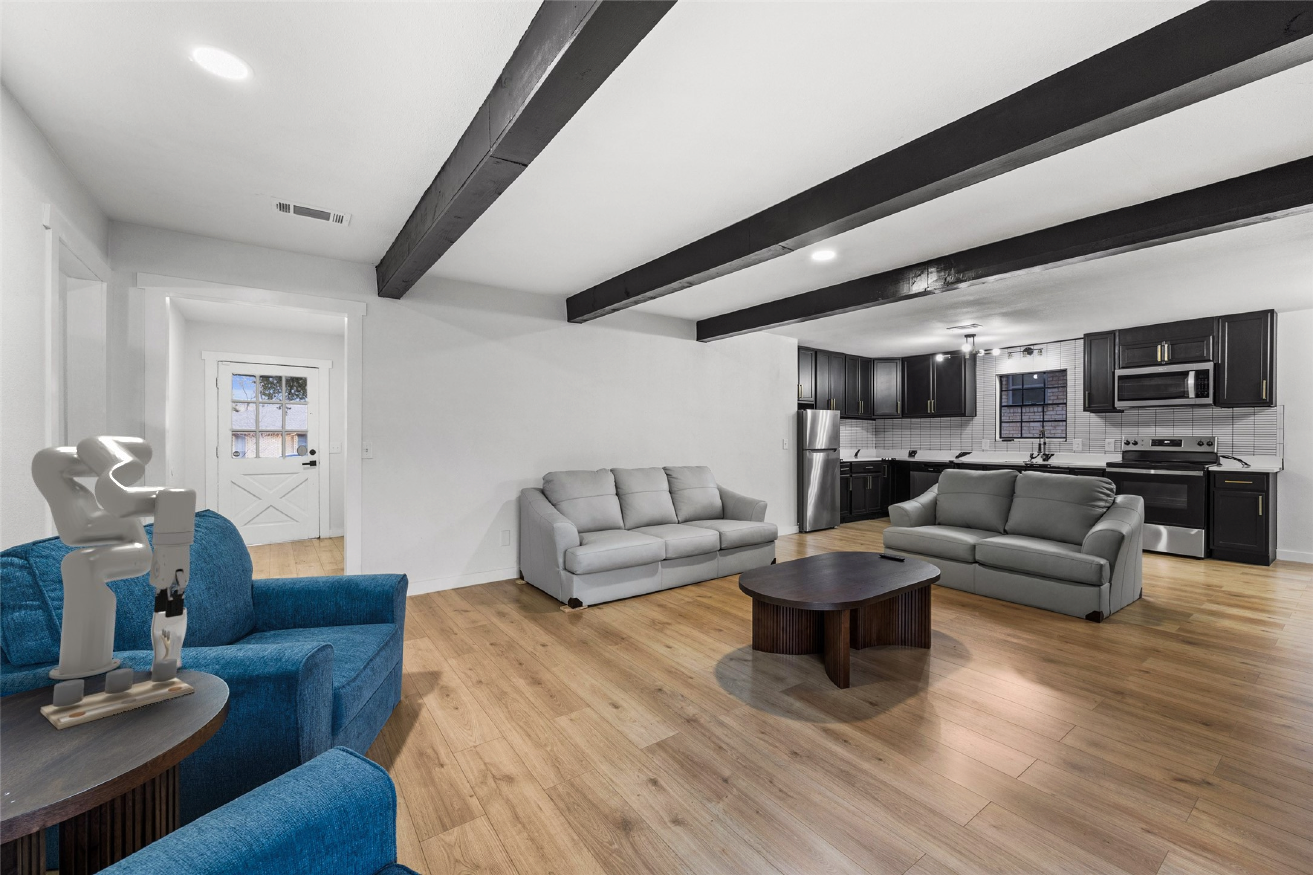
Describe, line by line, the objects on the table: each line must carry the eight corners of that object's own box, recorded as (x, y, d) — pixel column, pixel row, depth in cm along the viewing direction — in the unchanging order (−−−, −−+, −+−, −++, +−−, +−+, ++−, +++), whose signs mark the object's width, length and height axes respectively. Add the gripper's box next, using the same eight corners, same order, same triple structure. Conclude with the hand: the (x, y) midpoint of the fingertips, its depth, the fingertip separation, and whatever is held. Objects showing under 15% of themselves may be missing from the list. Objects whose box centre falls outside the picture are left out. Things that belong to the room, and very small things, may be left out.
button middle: (102, 690, 124) (103, 672, 124) (128, 684, 127) (129, 666, 128) (108, 695, 121) (109, 676, 122) (134, 688, 125) (136, 670, 125)
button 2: (148, 679, 130) (149, 662, 131) (172, 673, 134) (173, 657, 134) (155, 683, 128) (156, 666, 128) (179, 677, 132) (180, 660, 132)
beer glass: (162, 674, 139) (166, 614, 140) (141, 671, 140) (145, 612, 141) (190, 664, 146) (194, 607, 147) (170, 662, 147) (173, 605, 148)
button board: (40, 711, 118) (41, 704, 118) (171, 679, 136) (171, 673, 136) (58, 729, 110) (59, 722, 110) (194, 692, 129) (194, 686, 129)
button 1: (50, 703, 117) (51, 684, 117) (79, 696, 121) (80, 677, 121) (55, 708, 115) (57, 689, 115) (85, 701, 118) (86, 682, 119)
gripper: (140, 537, 134) (135, 611, 133) (167, 544, 125) (161, 623, 124) (179, 534, 141) (174, 605, 140) (207, 540, 132) (202, 616, 131)
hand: (168, 613), depth 132 cm, fingers open, 6 cm apart
